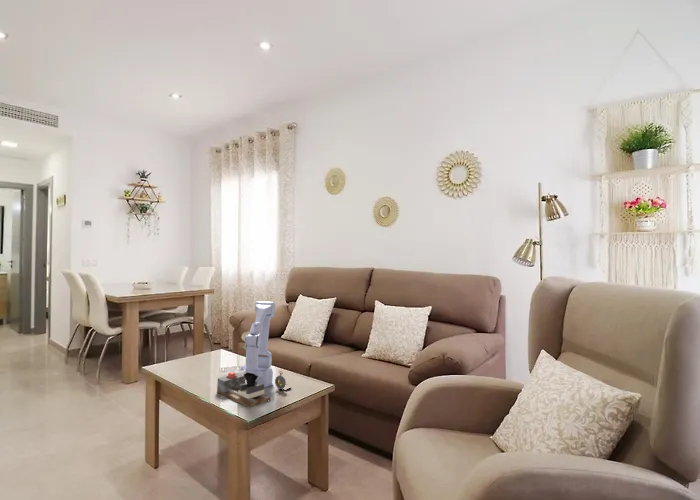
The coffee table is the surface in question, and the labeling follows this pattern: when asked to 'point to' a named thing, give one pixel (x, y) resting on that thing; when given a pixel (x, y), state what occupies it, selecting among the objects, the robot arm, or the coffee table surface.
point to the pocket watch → (280, 381)
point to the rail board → (231, 391)
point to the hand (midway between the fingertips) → (250, 388)
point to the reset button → (231, 375)
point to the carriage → (251, 390)
